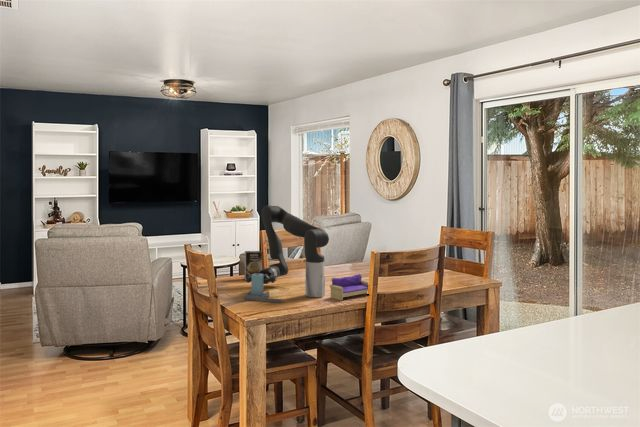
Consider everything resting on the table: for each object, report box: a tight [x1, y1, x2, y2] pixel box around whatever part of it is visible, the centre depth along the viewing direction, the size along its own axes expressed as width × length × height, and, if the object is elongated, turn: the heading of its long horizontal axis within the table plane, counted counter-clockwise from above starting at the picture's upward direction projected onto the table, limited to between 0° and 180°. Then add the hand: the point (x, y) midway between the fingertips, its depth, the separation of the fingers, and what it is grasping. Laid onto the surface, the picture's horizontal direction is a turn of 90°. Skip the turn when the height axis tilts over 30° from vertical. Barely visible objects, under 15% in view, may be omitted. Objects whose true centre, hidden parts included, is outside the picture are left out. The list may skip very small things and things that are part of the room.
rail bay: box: [243, 290, 284, 304], centre depth 262 cm, size 19×10×2 cm, turn 75°
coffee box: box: [243, 250, 263, 281], centre depth 309 cm, size 9×6×16 cm
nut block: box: [250, 273, 265, 295], centre depth 264 cm, size 4×4×11 cm
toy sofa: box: [329, 273, 369, 301], centre depth 271 cm, size 21×9×10 cm, turn 129°
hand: (256, 281), depth 262 cm, fingers open, 8 cm apart
